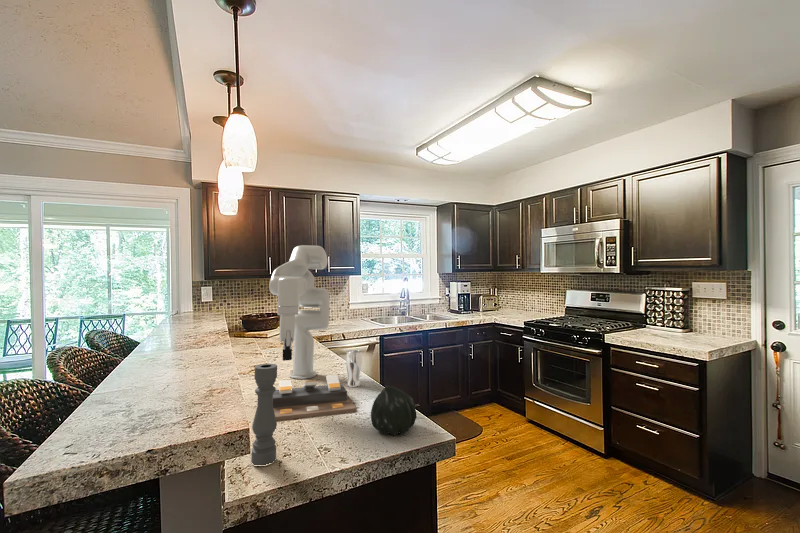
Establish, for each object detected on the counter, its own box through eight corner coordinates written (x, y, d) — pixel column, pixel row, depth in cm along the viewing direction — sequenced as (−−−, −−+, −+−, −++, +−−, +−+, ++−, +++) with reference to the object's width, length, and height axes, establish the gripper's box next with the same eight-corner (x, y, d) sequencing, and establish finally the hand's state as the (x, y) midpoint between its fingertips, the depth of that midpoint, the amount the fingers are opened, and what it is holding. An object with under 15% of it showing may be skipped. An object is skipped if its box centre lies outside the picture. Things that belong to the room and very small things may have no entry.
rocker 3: (326, 377, 147) (326, 374, 147) (337, 377, 149) (337, 374, 148) (328, 390, 140) (329, 387, 140) (340, 389, 142) (340, 386, 141)
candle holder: (261, 469, 93) (263, 370, 94) (246, 462, 96) (248, 366, 97) (281, 459, 98) (283, 365, 99) (265, 453, 102) (268, 362, 102)
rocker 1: (278, 383, 142) (278, 380, 141) (290, 382, 143) (290, 379, 143) (279, 393, 134) (279, 390, 134) (291, 392, 136) (292, 389, 135)
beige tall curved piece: (362, 383, 168) (363, 350, 168) (359, 387, 161) (360, 353, 161) (347, 382, 168) (348, 349, 168) (344, 387, 161) (344, 352, 162)
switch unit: (268, 399, 144) (268, 384, 144) (344, 392, 154) (344, 378, 154) (267, 421, 123) (268, 403, 123) (355, 411, 133) (356, 395, 133)
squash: (427, 407, 123) (398, 372, 125) (420, 427, 109) (388, 387, 111) (396, 432, 126) (368, 397, 128) (385, 454, 111) (354, 414, 113)
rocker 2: (303, 387, 144) (302, 383, 144) (314, 386, 145) (314, 382, 146) (304, 385, 137) (304, 381, 138) (316, 384, 139) (316, 380, 139)
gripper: (277, 308, 143) (276, 355, 143) (277, 313, 129) (276, 365, 129) (297, 308, 145) (296, 354, 145) (300, 312, 131) (299, 364, 131)
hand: (287, 359), depth 137 cm, fingers closed
